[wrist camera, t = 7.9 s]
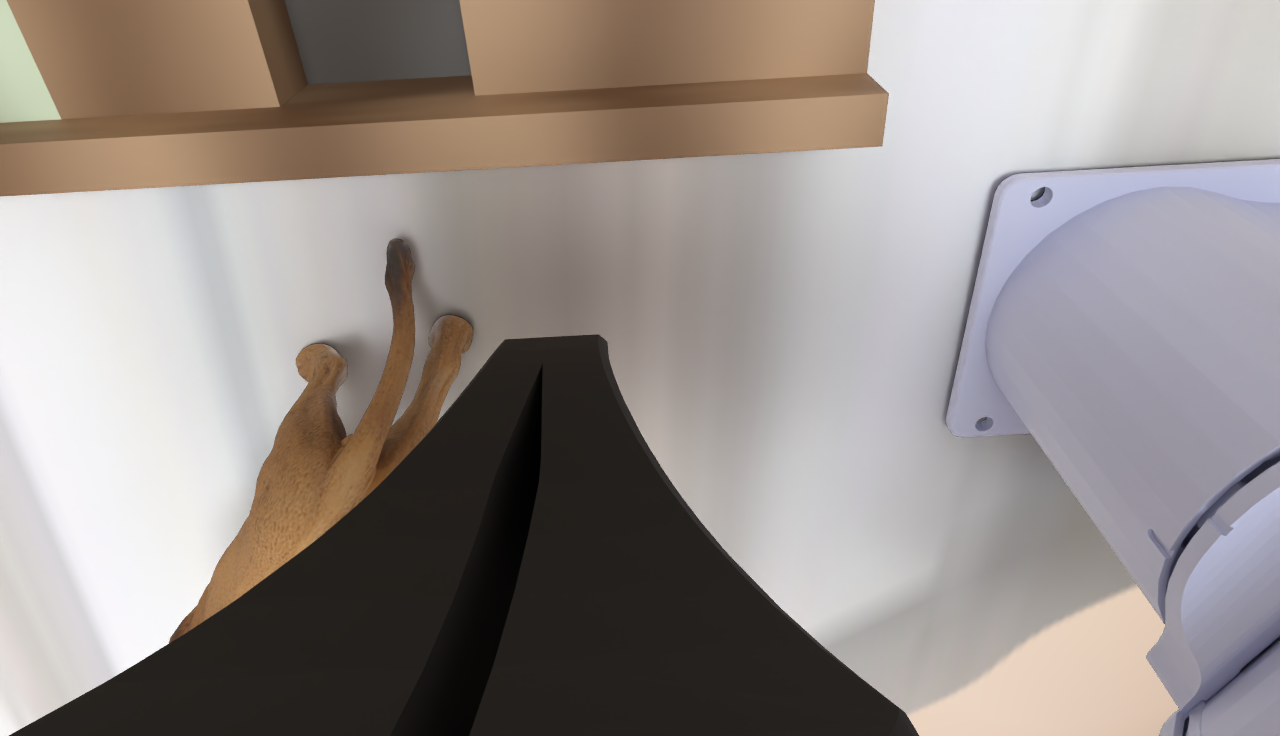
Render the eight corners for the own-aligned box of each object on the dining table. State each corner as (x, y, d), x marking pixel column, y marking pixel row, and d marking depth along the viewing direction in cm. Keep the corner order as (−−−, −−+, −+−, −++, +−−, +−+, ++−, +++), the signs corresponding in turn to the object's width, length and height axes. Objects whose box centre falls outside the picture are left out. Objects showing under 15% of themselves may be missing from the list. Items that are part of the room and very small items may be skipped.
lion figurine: (395, 610, 28) (315, 892, 20) (239, 578, 27) (92, 864, 19) (500, 259, 20) (432, 503, 13) (288, 192, 19) (78, 418, 12)
